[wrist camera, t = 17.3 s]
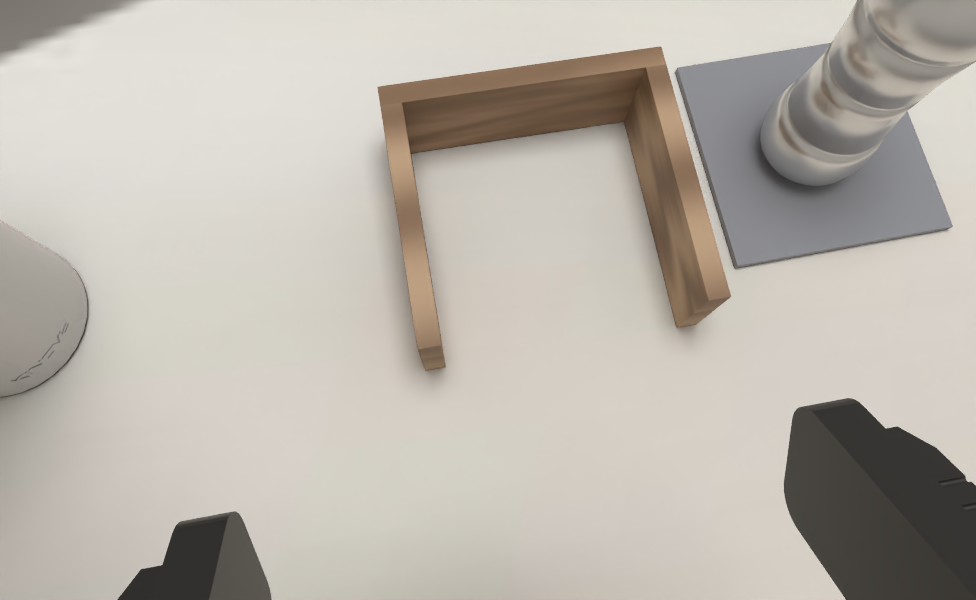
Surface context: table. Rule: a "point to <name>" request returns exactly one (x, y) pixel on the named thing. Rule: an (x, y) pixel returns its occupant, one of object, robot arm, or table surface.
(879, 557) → the robot arm
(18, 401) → the table surface
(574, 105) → the walnut stall
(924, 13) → the plastic bottle
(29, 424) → the table surface
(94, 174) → the table surface
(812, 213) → the charcoal mat
